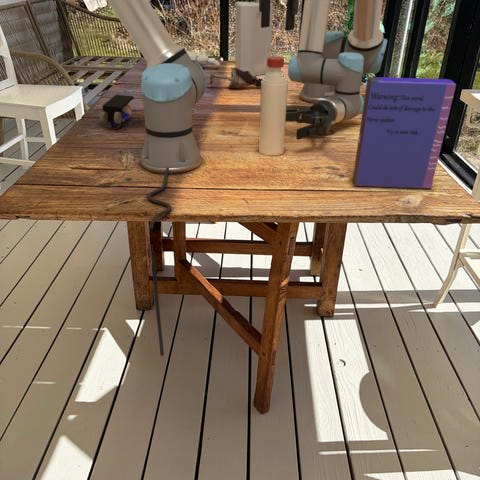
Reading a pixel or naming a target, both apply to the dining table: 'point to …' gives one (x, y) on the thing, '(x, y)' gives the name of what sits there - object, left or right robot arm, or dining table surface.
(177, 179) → the dining table surface
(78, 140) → the dining table surface
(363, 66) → the right robot arm
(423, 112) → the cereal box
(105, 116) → the figurine character
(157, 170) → the left robot arm
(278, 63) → the cap
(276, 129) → the bottle
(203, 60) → the toy
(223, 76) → the figurine
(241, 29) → the tall white box
